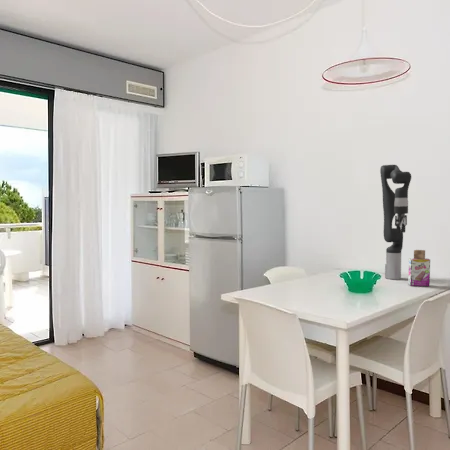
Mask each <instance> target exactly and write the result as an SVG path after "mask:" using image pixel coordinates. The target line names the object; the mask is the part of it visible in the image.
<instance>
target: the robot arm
mask: <svg viewBox="0 0 450 450" xmlns="http://www.w3.org/2000/svg"><path fill="white" fill-rule="evenodd" d="M379 172H380V181H381V189H382V209H383V239H384V241H385V242H386V243H392V244H391V245H390V246H388V247H386V249H385V254H386V258H385V262H386V263H385V264H384V265H385V266H384V279H388V280H401V279H402V250H403V247H404V246H403V243H404V233H406V226H407V225H408V214H409V196H408V195H409V187H410V183H411V181H412V173H410V172H409V171H402V170H401V169H400V167H399V166H398V165H397V164H383V165H381V166H380V170H379ZM390 179H391V181H392V183H393V184H396V185H400V184H401V185H403V186H402V187H397V188H395V190H394V191H393V190H392V188H391V187H390V185H389V183H388V180H390ZM393 220H394V226H395V227H393Z"/></svg>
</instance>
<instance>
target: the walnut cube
mask: <svg viewBox="0 0 450 450" xmlns="http://www.w3.org/2000/svg"><path fill="white" fill-rule="evenodd" d="M413 258H414V259H425V258H426V249H414V250H413Z"/></svg>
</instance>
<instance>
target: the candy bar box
mask: <svg viewBox="0 0 450 450" xmlns="http://www.w3.org/2000/svg"><path fill="white" fill-rule="evenodd" d="M430 279H431V259H430V258H428V257H427V258H426V257H425V259H414V257H409V258H408V279H407V280H408V281H407V285H408V286H410V287H430V284H431V283H430Z"/></svg>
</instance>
